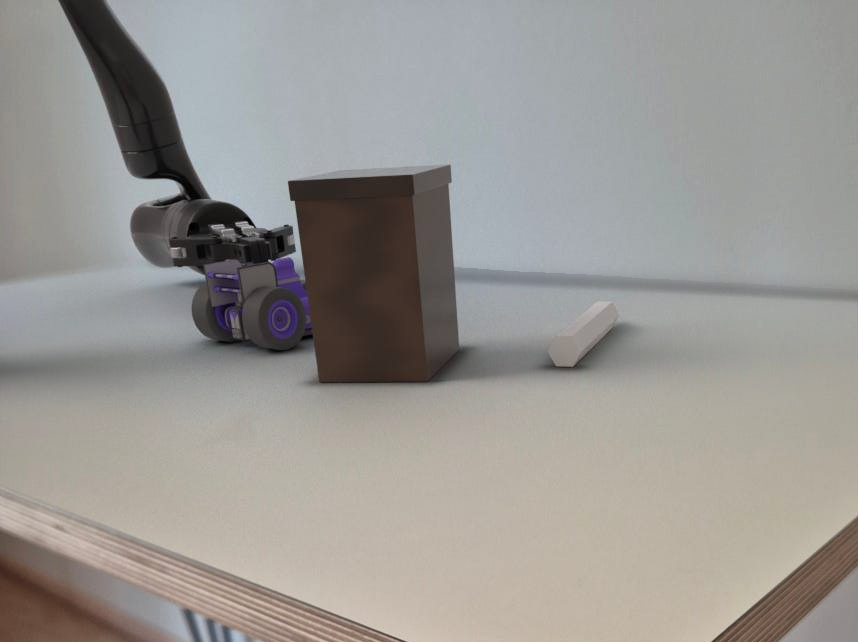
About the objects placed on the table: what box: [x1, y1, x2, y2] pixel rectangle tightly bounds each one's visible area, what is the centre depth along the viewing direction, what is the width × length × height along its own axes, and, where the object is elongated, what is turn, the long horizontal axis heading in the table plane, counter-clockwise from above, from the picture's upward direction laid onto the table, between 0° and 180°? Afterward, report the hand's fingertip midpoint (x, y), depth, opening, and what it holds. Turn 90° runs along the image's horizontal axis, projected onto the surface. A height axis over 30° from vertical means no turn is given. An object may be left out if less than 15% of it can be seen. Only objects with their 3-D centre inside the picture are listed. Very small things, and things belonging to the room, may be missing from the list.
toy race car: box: [191, 256, 313, 351], centre depth 83 cm, size 10×15×6 cm, turn 139°
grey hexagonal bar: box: [547, 301, 620, 368], centre depth 74 cm, size 3×2×16 cm
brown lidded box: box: [287, 164, 460, 383], centre depth 69 cm, size 9×10×13 cm
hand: (259, 253), depth 88 cm, fingers closed
